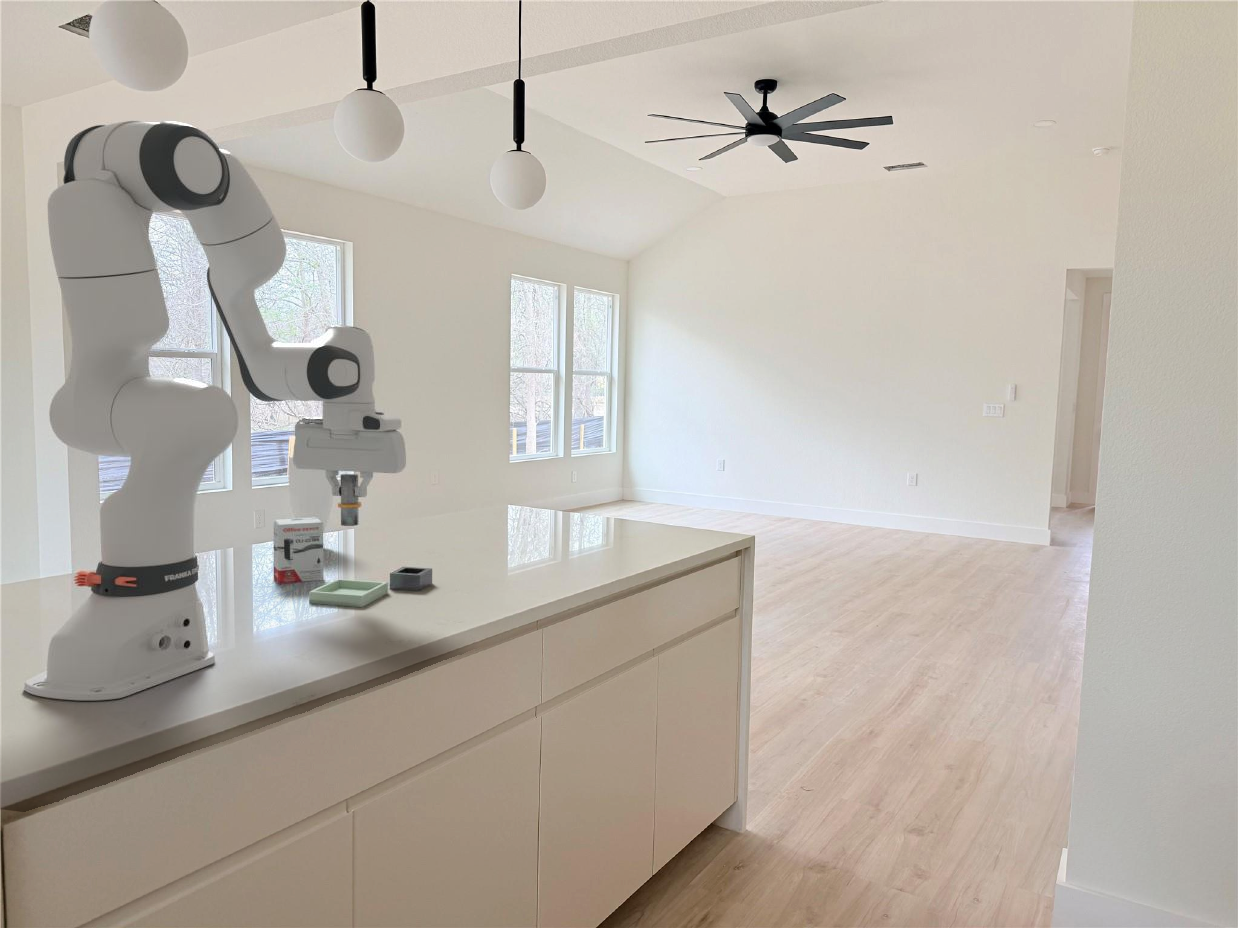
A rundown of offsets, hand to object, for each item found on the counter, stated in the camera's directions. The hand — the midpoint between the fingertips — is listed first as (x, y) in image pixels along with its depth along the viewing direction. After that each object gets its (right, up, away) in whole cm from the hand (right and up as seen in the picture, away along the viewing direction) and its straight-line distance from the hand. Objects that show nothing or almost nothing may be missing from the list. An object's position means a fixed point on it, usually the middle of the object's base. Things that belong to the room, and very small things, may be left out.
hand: (349, 496), depth 147 cm
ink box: (-15, -17, +14) cm, 27 cm away
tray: (-1, -19, +2) cm, 19 cm away
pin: (0, -5, +1) cm, 5 cm away
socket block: (+8, -18, +11) cm, 23 cm away
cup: (-23, -14, +45) cm, 53 cm away
